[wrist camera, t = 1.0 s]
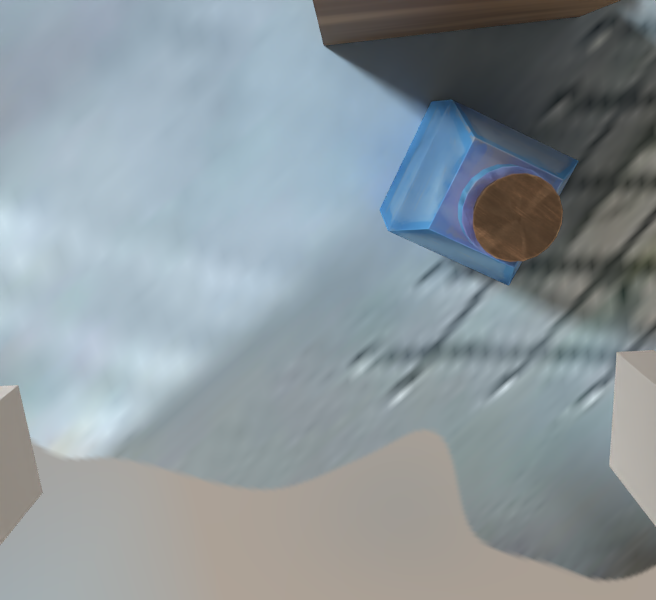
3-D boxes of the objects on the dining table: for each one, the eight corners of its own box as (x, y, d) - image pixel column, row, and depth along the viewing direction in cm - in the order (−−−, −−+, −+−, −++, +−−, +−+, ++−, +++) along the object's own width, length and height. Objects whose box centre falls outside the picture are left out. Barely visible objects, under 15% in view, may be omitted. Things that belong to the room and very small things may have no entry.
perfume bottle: (379, 209, 34) (400, 260, 22) (431, 101, 32) (482, 96, 21) (479, 255, 34) (549, 327, 23) (535, 151, 33) (640, 174, 21)
